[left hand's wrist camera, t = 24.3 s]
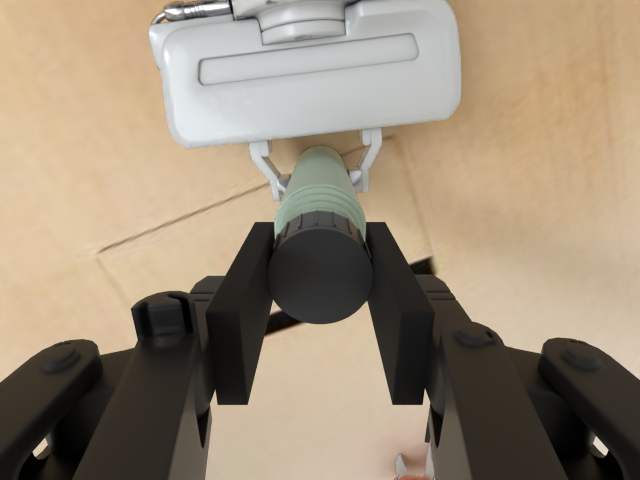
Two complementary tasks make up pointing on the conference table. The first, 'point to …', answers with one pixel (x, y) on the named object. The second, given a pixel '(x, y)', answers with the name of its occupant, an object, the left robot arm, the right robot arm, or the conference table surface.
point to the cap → (320, 268)
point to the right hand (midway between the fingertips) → (321, 195)
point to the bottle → (320, 189)
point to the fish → (402, 470)
